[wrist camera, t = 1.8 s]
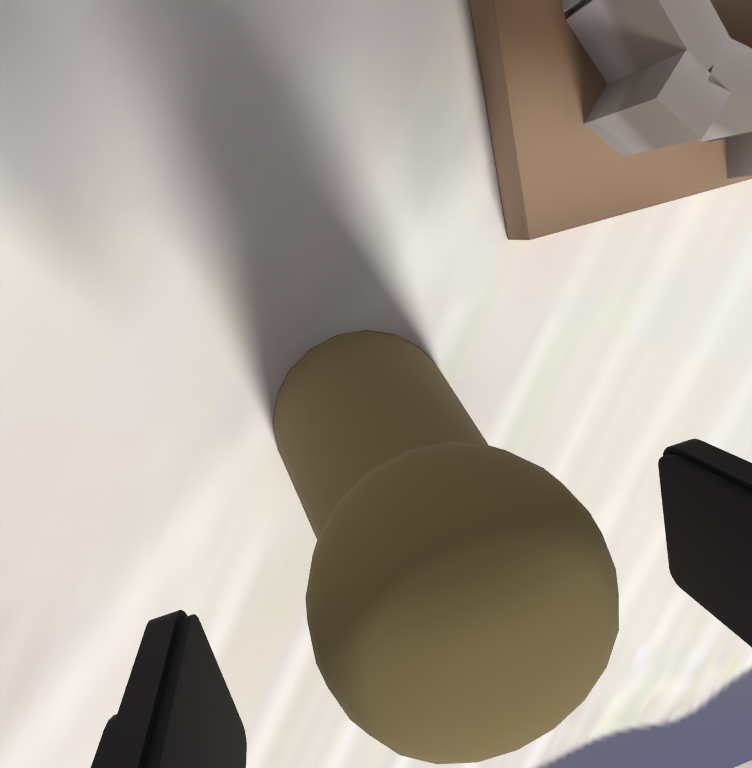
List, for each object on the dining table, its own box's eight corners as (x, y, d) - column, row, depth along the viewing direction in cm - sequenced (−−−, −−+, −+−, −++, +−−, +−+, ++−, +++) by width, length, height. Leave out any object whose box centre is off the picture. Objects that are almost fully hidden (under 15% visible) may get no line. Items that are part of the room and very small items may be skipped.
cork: (250, 480, 18) (229, 826, 7) (304, 305, 17) (370, 423, 6) (415, 516, 19) (590, 843, 9) (475, 360, 18) (756, 526, 8)
